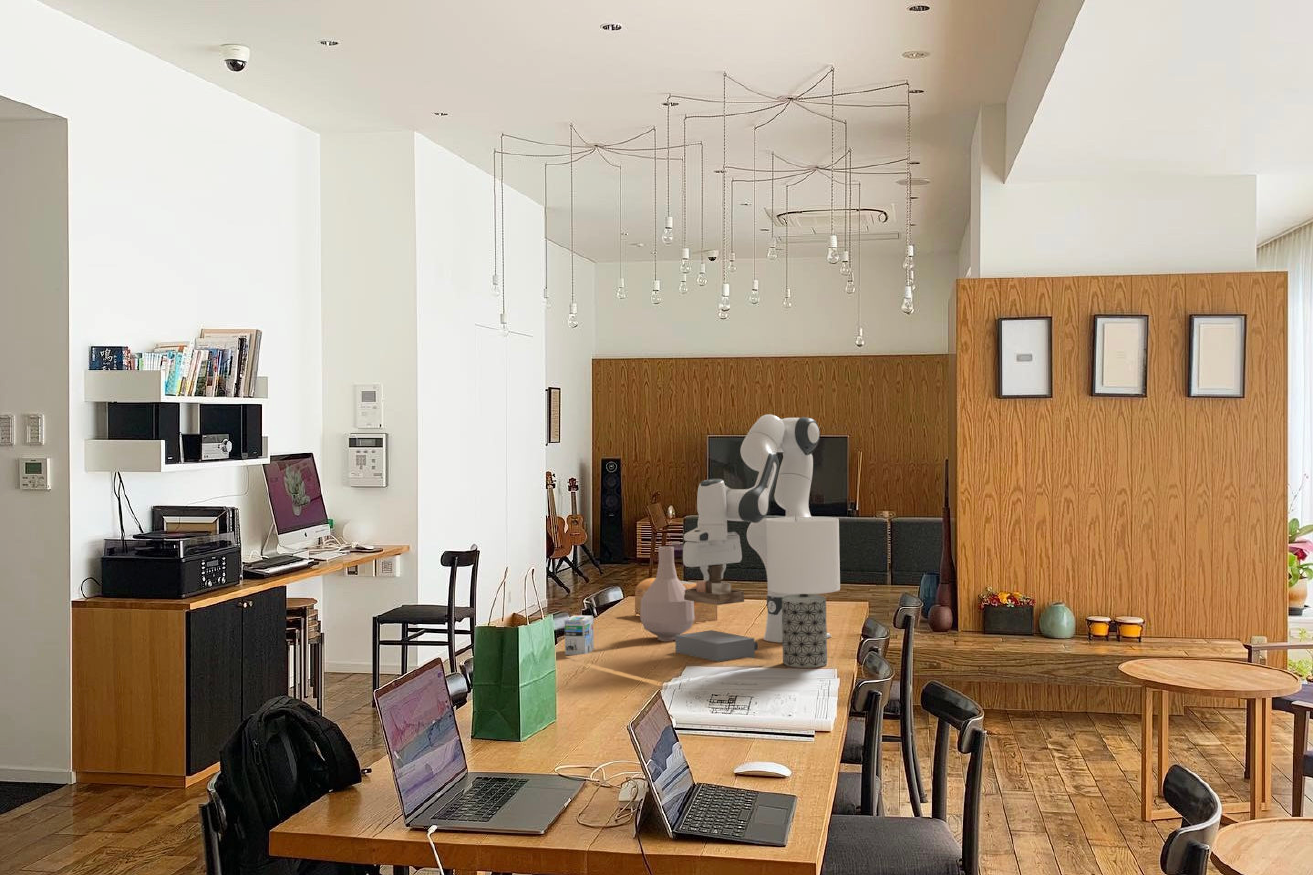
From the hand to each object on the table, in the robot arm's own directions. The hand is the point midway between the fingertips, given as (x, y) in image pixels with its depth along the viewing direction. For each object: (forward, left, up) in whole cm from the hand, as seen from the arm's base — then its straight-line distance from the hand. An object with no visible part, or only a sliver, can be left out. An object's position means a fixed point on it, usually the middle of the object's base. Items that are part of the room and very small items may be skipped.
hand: (713, 579), depth 350 cm
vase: (-8, -34, -23) cm, 42 cm away
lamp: (-12, +26, -23) cm, 37 cm away
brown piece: (0, 0, -6) cm, 6 cm away
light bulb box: (+26, -34, -23) cm, 49 cm away
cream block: (0, +4, -5) cm, 6 cm away
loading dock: (0, 0, -23) cm, 23 cm away
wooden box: (-38, -69, -23) cm, 82 cm away
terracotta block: (0, -4, -5) cm, 6 cm away
